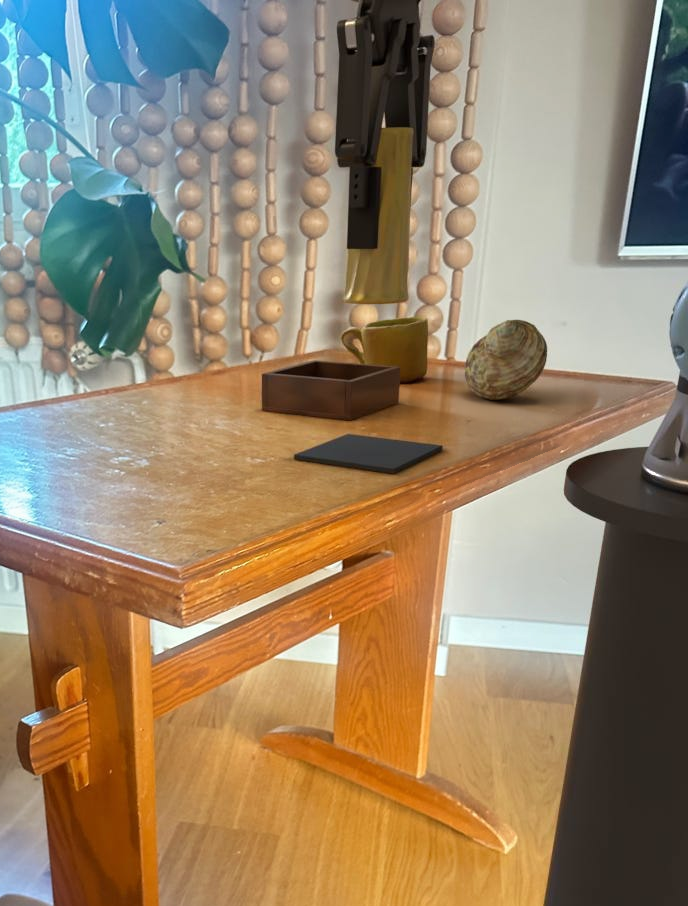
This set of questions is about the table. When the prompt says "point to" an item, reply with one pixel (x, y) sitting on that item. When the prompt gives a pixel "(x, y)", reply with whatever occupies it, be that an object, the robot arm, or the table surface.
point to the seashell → (506, 360)
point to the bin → (331, 389)
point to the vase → (386, 228)
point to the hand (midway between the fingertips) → (378, 246)
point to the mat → (369, 453)
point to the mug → (392, 345)
